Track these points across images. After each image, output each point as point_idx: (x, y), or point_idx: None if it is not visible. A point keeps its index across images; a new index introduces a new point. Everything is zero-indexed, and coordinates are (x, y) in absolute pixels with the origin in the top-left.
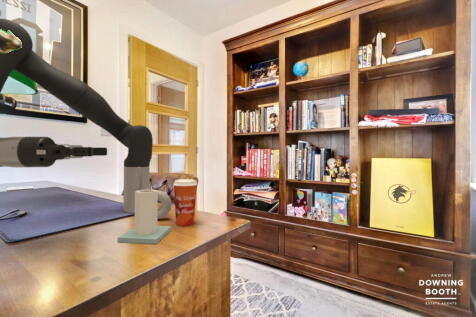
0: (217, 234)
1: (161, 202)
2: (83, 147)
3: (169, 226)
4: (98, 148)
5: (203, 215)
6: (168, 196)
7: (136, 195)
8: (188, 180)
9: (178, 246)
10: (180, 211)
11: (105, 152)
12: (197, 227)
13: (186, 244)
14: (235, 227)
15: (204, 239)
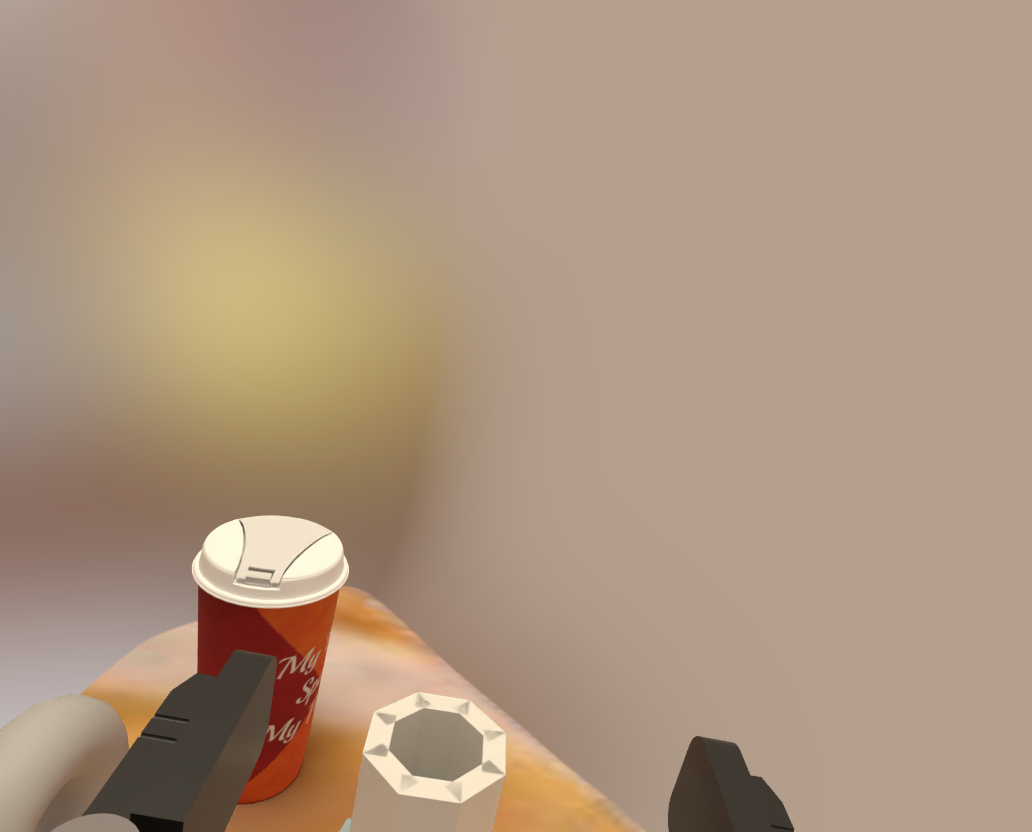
0: (461, 688)
1: (92, 774)
2: (765, 813)
3: (346, 826)
4: (235, 735)
5: (152, 669)
6: (105, 702)
7: (471, 812)
8: (289, 537)
9: (562, 824)
10: (303, 720)
11: (265, 713)
12: (347, 727)
13: (545, 795)
14: (402, 627)
15: None
